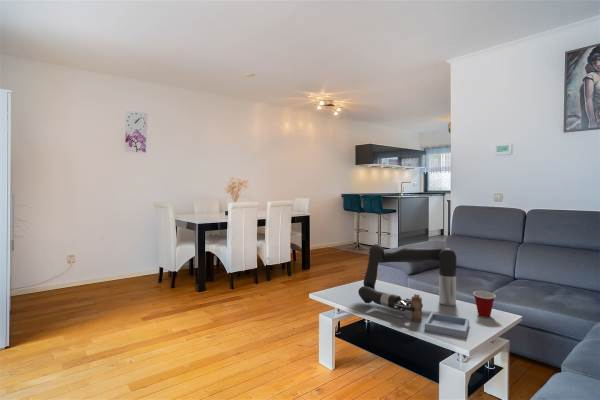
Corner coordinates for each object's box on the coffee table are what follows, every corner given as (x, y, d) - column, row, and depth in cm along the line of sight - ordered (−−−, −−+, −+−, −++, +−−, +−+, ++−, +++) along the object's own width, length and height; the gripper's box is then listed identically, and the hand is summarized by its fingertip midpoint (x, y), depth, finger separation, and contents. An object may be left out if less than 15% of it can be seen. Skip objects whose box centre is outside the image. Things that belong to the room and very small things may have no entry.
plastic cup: (474, 317, 179) (474, 295, 179) (471, 311, 189) (471, 290, 189) (497, 320, 175) (497, 297, 175) (493, 313, 186) (493, 291, 185)
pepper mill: (412, 318, 179) (412, 292, 179) (422, 319, 176) (422, 294, 176) (410, 321, 175) (410, 295, 175) (420, 323, 172) (420, 296, 172)
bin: (431, 318, 178) (431, 312, 178) (469, 325, 169) (469, 318, 169) (424, 330, 163) (424, 323, 163) (465, 338, 154) (465, 331, 154)
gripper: (397, 304, 191) (424, 311, 180) (383, 310, 181) (411, 318, 170) (397, 291, 191) (424, 297, 179) (383, 296, 181) (411, 303, 170)
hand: (418, 307), depth 175 cm, fingers open, 8 cm apart
